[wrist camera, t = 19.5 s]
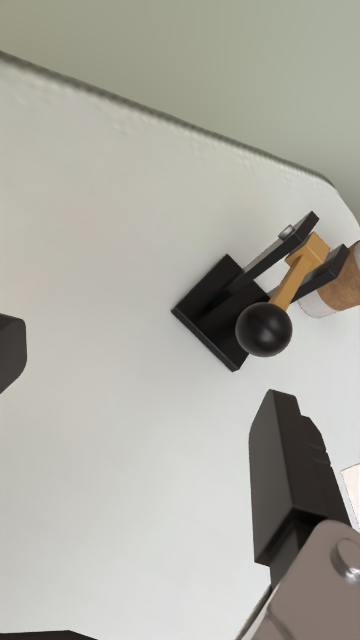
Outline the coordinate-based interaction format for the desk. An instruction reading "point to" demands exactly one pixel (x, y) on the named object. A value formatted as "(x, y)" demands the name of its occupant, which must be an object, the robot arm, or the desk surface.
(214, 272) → the black lever stand
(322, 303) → the coffee cup
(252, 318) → the black ball knob lever
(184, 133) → the desk surface
